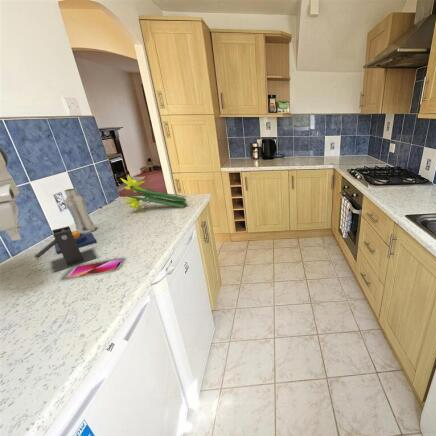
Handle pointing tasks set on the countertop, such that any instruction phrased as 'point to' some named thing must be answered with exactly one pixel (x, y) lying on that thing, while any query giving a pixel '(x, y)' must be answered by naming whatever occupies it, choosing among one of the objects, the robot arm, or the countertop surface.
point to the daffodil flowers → (151, 195)
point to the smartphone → (96, 268)
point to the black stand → (69, 250)
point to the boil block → (80, 241)
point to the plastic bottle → (78, 211)
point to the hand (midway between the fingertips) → (17, 234)
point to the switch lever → (43, 250)
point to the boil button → (76, 234)
